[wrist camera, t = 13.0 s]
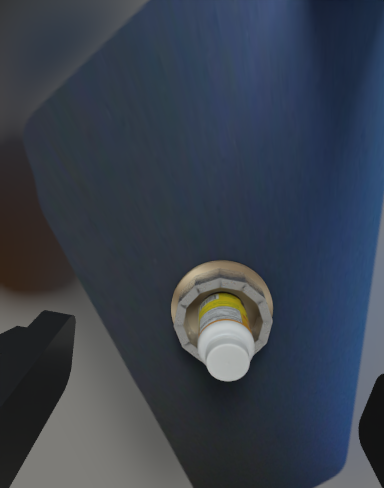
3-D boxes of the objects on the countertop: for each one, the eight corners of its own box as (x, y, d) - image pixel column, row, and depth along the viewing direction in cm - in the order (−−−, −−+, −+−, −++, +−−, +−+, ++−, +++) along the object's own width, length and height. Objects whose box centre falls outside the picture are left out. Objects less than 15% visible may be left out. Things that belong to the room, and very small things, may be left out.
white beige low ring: (185, 261, 39) (184, 271, 36) (276, 278, 39) (281, 289, 36) (170, 340, 42) (168, 355, 39) (254, 356, 42) (258, 372, 39)
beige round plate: (181, 251, 40) (180, 254, 39) (282, 270, 40) (284, 273, 39) (164, 340, 43) (163, 345, 42) (258, 357, 43) (259, 362, 43)
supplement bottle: (238, 335, 42) (249, 395, 32) (193, 325, 41) (190, 382, 32) (250, 294, 40) (266, 343, 30) (204, 283, 40) (204, 330, 30)
